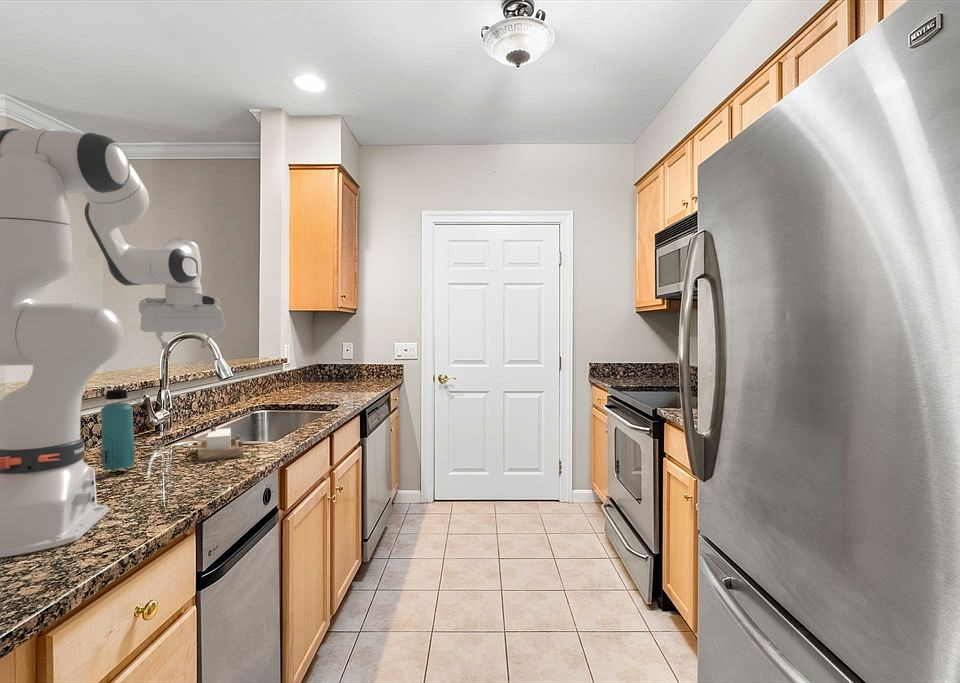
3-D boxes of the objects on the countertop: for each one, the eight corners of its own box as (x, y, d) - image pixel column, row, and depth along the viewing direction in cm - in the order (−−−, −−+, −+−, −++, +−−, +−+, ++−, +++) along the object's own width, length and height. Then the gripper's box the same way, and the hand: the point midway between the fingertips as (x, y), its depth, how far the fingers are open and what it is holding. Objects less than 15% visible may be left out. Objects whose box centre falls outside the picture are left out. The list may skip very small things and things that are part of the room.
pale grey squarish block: (230, 453, 133) (230, 431, 133) (207, 456, 130) (206, 433, 130) (230, 445, 143) (230, 424, 143) (209, 447, 140) (208, 426, 140)
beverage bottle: (141, 468, 122) (140, 388, 121) (119, 476, 115) (117, 391, 114) (117, 468, 122) (115, 387, 122) (93, 476, 116) (92, 391, 115)
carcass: (243, 456, 133) (243, 443, 133) (198, 462, 128) (198, 448, 127) (238, 445, 146) (238, 433, 146) (197, 450, 140) (197, 437, 140)
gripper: (137, 297, 130) (138, 349, 130) (225, 299, 140) (225, 348, 140) (139, 298, 135) (140, 348, 135) (223, 300, 145) (224, 347, 146)
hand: (184, 348), depth 138 cm, fingers open, 8 cm apart
